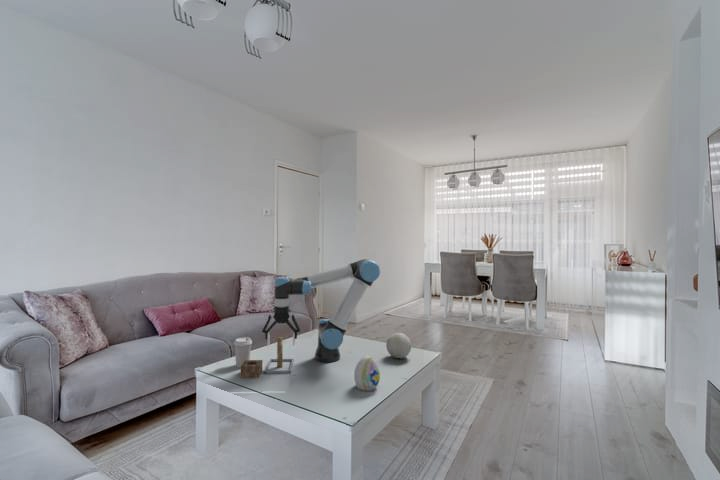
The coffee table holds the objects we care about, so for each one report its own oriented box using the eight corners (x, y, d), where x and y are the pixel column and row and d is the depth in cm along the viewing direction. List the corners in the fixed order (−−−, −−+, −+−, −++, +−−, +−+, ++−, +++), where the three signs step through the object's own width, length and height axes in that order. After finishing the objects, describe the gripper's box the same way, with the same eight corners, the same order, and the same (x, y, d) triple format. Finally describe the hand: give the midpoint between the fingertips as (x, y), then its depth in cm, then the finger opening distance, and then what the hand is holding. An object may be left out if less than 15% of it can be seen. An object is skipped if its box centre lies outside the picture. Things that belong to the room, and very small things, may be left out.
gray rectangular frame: (293, 362, 197) (293, 358, 197) (290, 374, 178) (290, 370, 178) (270, 362, 196) (270, 358, 196) (264, 375, 177) (264, 371, 177)
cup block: (262, 372, 180) (262, 359, 181) (259, 379, 172) (259, 366, 172) (244, 372, 179) (244, 360, 180) (240, 379, 171) (240, 366, 171)
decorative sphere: (385, 361, 203) (386, 335, 203) (386, 353, 218) (387, 329, 218) (411, 362, 201) (411, 337, 201) (410, 354, 216) (411, 330, 216)
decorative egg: (368, 395, 156) (369, 362, 156) (348, 387, 164) (349, 356, 164) (384, 387, 166) (385, 356, 166) (365, 380, 174) (365, 350, 174)
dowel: (282, 366, 188) (282, 336, 189) (282, 368, 186) (282, 338, 186) (277, 366, 188) (277, 337, 188) (276, 368, 185) (277, 338, 185)
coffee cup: (245, 371, 182) (246, 342, 182) (229, 369, 184) (230, 341, 184) (254, 365, 191) (255, 337, 191) (239, 363, 193) (240, 336, 193)
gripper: (305, 304, 192) (304, 342, 192) (259, 304, 190) (258, 343, 189) (304, 306, 185) (304, 346, 185) (256, 307, 182) (256, 347, 182)
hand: (281, 345), depth 187 cm, fingers open, 13 cm apart
